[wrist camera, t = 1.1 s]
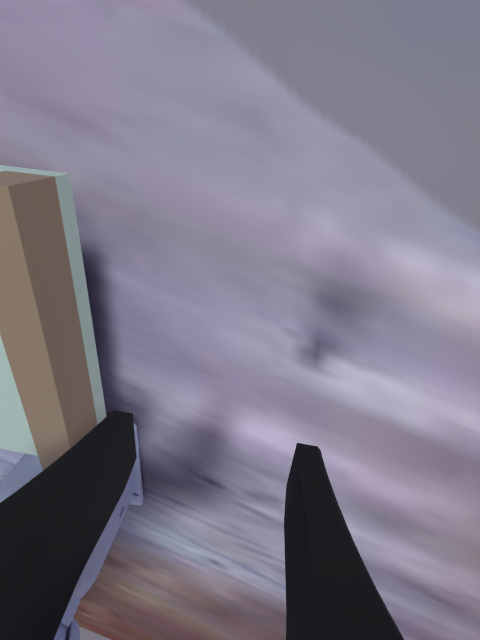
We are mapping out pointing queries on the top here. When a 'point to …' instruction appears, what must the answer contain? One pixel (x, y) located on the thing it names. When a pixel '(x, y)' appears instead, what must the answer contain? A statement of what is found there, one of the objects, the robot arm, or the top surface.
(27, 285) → the lid
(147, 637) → the top surface
